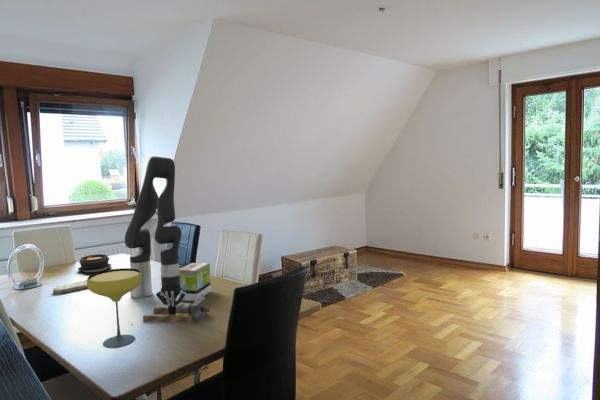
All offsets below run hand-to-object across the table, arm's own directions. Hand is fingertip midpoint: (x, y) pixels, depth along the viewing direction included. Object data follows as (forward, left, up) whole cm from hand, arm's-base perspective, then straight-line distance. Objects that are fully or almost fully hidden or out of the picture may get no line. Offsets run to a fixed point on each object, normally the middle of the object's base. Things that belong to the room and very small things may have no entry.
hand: (172, 314), depth 177 cm
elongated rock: (-64, +42, -2) cm, 77 cm away
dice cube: (+5, +1, -2) cm, 5 cm away
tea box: (0, +28, -2) cm, 28 cm away
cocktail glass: (-10, -24, -2) cm, 26 cm away
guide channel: (+3, 0, -1) cm, 3 cm away
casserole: (-81, +75, -2) cm, 111 cm away
